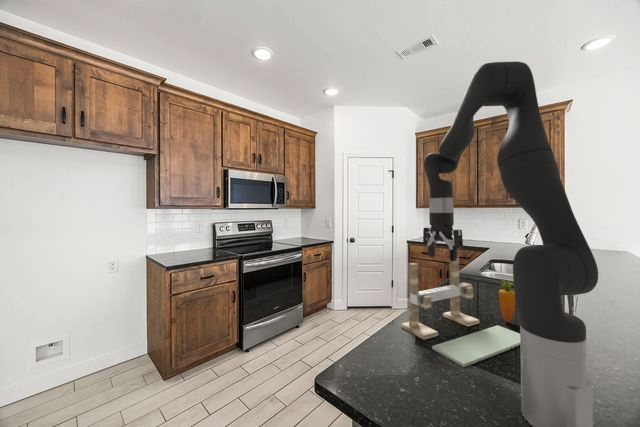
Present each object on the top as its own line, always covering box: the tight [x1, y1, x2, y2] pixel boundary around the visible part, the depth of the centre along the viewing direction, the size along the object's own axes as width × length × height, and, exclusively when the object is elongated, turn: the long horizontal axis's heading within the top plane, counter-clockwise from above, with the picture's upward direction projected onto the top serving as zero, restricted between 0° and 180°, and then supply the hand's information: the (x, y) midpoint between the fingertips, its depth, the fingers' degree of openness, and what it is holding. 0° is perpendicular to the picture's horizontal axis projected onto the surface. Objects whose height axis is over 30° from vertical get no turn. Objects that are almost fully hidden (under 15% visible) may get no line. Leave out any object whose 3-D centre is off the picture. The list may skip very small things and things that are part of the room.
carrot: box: [498, 278, 516, 323], centre depth 92 cm, size 5×5×15 cm
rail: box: [410, 282, 473, 305], centre depth 90 cm, size 3×26×3 cm, turn 115°
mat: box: [431, 324, 520, 368], centre depth 78 cm, size 10×30×1 cm, turn 114°
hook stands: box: [400, 257, 480, 341], centre depth 91 cm, size 10×26×22 cm, turn 114°
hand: (442, 258), depth 90 cm, fingers open, 8 cm apart
